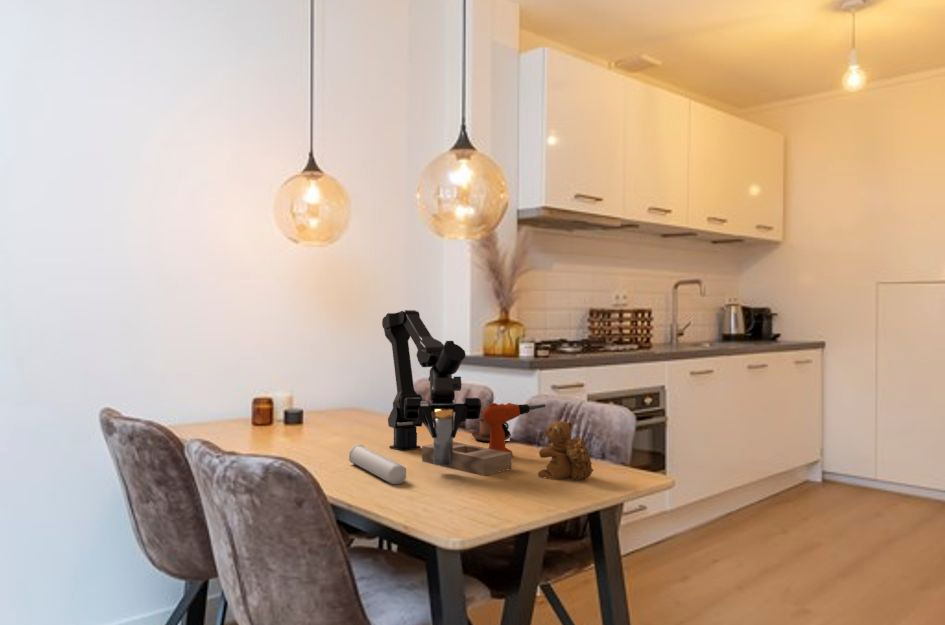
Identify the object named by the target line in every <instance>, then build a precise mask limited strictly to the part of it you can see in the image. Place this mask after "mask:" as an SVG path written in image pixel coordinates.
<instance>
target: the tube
mask: <svg viewBox="0 0 945 625" xmlns="http://www.w3.org/2000/svg"><path fill="white" fill-rule="evenodd" d="M348 462H350V463H352V465H355V466H358V467H359V468H361V469H363V470H365V471H366V472H369V473H370V474H372V475H375V476H376V477H378V478H380V479H382V480H384V481H385V482H387V483H389V484H390V485H391V484H392V485H401V484H403V483H404V481H405V480H406V479H407V468H406V467H405V466H404V465H402V464H400V463H398V462H397V461H395V460H393V459H391V458H388V457H386V456H385V455H383V454H380V453H379V452H375V451H374V450H372V449H371V448H370V449H369V448H367V447H365V446H364V444H357V445H356V444H355V445H353V446H352V448H351V449H350V451H349V453H348Z"/></svg>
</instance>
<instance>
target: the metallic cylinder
mask: <svg viewBox="0 0 945 625" xmlns="http://www.w3.org/2000/svg"><path fill="white" fill-rule="evenodd" d="M433 426H434V438H433V444H434V464H433V465H435V466H440V465H441V466H442V467H445V466H446V465H451V464H453V442H454V438H453V427H454V412H453V409H451V408H436V409H434V412H433ZM441 466H440V467H441Z"/></svg>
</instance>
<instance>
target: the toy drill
mask: <svg viewBox="0 0 945 625" xmlns="http://www.w3.org/2000/svg"><path fill="white" fill-rule="evenodd" d="M546 406H547V405H546V404H545V403H542V404H536V405H534V404H533V405H529V404H526V403H524V404H518V403H517V404H516V403H511V402H508V403H505V404H504V403H500V404H498V403H496V402H492V403H489V405H488V406H487V407H485V409H483V411H482V419H484V421H485V422H486V423H487V424H488V425H489V427H490V442H489V446H488V447H487V448H488V449H493V450H499V451H504V452H509V453H512V455H513V452H512V450H511V449H509V448H508V447H506V440H505V438H506V437H507V436H508V435H509V434H511V431H509V428H508V429H507V426H506V424H503V423H505V422H507V423H508V422H509V421H511V420H515V419H516V418H517V417H520V416H521V415H525V414H528V413H529V412H530V411H531V410H537V409H542V408H546Z"/></svg>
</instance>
